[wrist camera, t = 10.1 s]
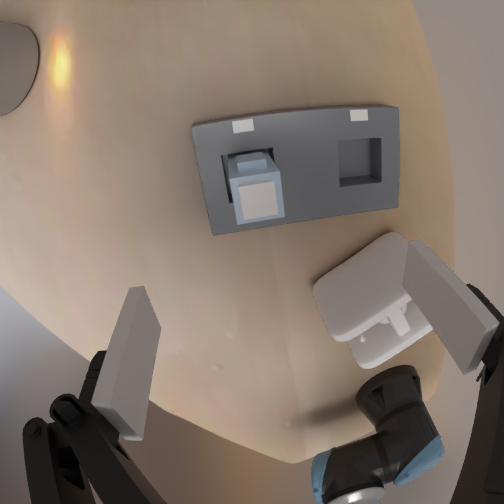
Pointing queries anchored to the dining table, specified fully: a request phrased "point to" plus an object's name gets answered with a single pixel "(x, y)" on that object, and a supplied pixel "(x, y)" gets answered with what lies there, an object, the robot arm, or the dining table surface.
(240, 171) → the plug
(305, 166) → the socket panel
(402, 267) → the cable organizer
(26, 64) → the cylinder vase
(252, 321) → the dining table surface
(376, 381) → the robot arm
